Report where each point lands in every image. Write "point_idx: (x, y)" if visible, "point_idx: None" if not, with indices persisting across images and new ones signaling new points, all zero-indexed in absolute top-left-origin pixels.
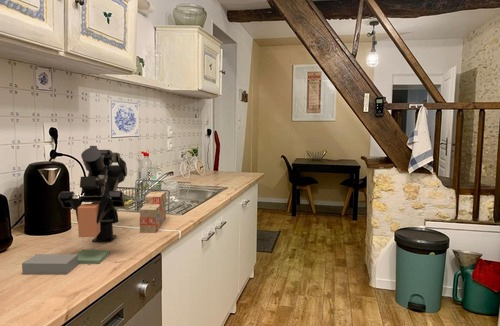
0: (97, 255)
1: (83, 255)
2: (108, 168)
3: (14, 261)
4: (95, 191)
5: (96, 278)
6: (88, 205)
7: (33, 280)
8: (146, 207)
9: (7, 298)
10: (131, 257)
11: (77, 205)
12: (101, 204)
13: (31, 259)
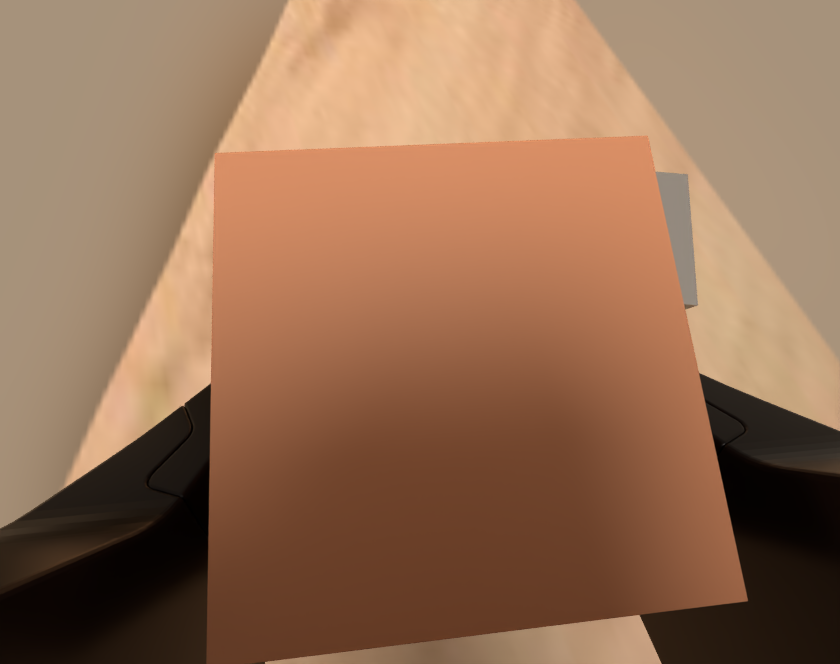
0: None
1: None
2: None
3: (791, 361)
4: None
5: (297, 136)
6: (478, 379)
7: (563, 137)
8: None
9: (568, 5)
10: (169, 396)
11: (802, 454)
12: (112, 525)
13: (673, 225)
